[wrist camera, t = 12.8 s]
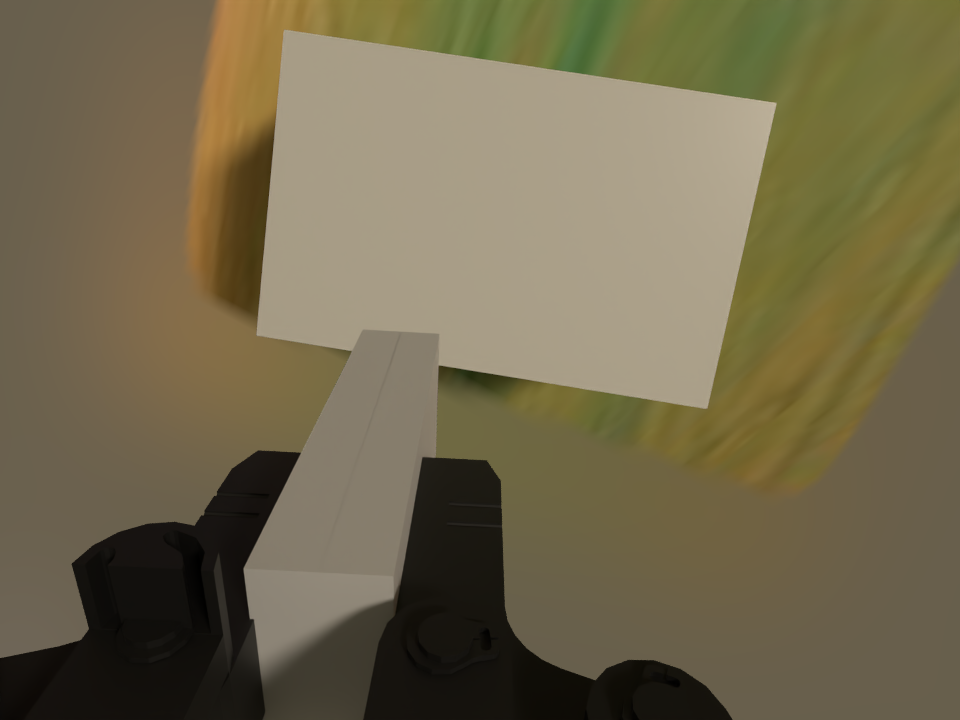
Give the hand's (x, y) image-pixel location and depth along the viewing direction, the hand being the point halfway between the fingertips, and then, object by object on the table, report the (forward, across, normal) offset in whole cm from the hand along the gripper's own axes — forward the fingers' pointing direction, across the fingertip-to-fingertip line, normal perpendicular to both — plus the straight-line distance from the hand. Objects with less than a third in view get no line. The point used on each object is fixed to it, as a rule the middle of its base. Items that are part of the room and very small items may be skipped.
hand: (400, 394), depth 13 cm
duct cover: (+11, +2, +1) cm, 11 cm away
